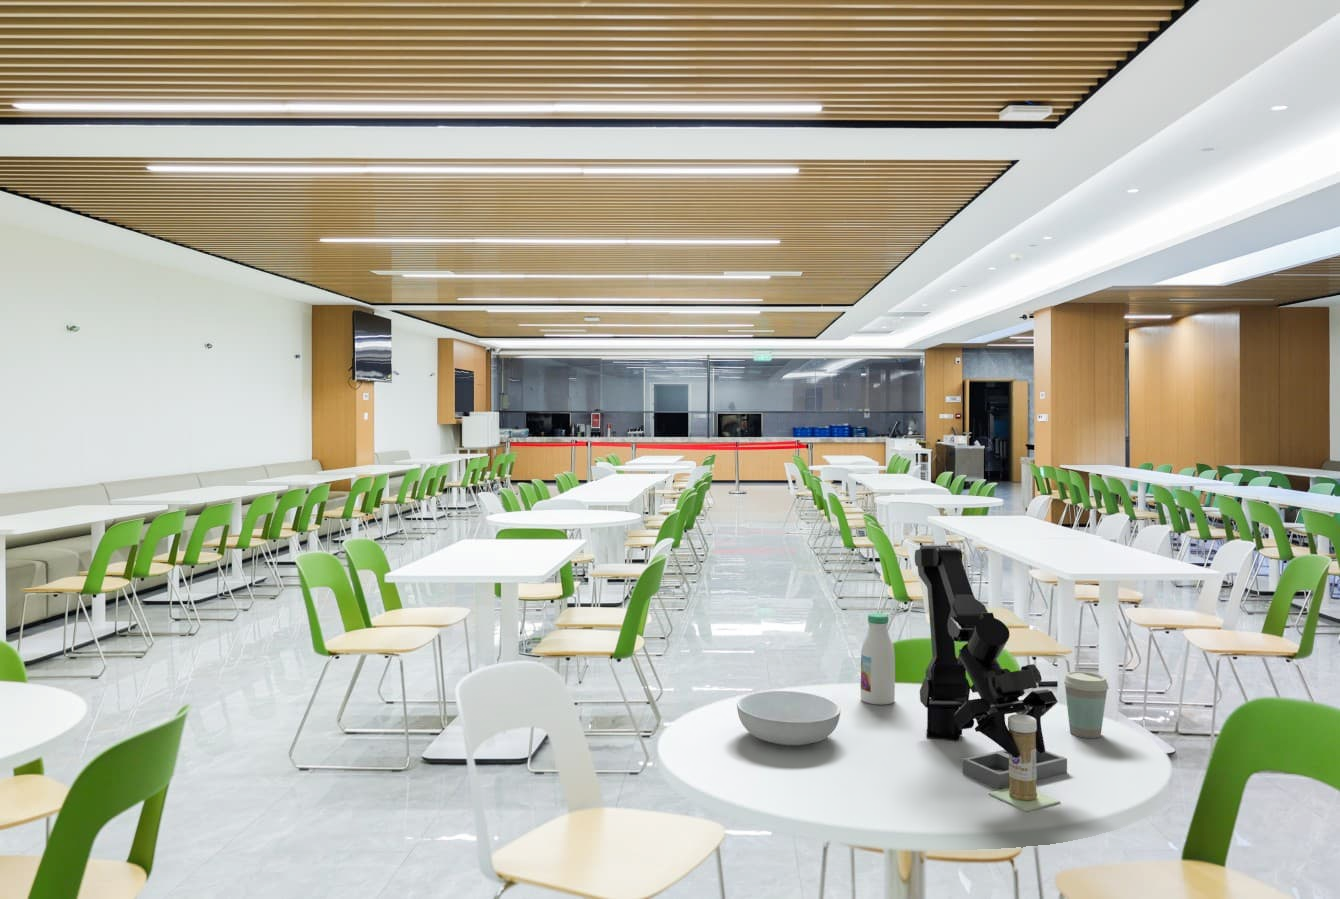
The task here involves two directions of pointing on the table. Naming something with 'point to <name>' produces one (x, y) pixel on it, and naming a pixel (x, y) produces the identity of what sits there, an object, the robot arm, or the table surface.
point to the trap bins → (996, 767)
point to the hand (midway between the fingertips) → (1030, 754)
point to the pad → (1025, 805)
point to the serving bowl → (788, 716)
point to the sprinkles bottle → (1023, 757)
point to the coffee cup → (1085, 702)
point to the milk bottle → (877, 663)
